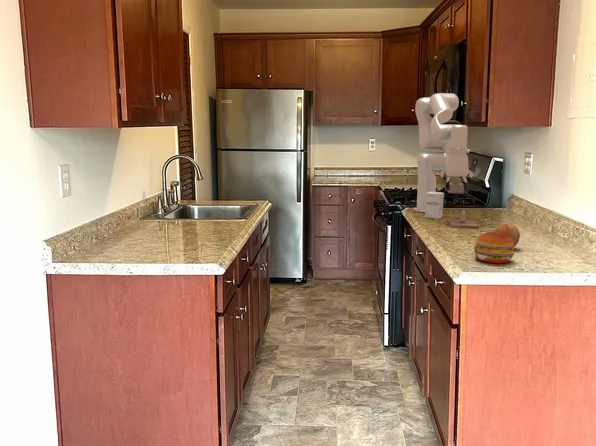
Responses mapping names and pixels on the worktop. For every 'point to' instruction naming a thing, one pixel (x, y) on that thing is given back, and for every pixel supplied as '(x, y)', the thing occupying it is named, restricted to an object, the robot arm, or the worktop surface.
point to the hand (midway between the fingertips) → (455, 190)
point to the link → (456, 188)
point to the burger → (494, 247)
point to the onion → (509, 231)
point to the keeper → (462, 222)
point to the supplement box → (434, 205)
